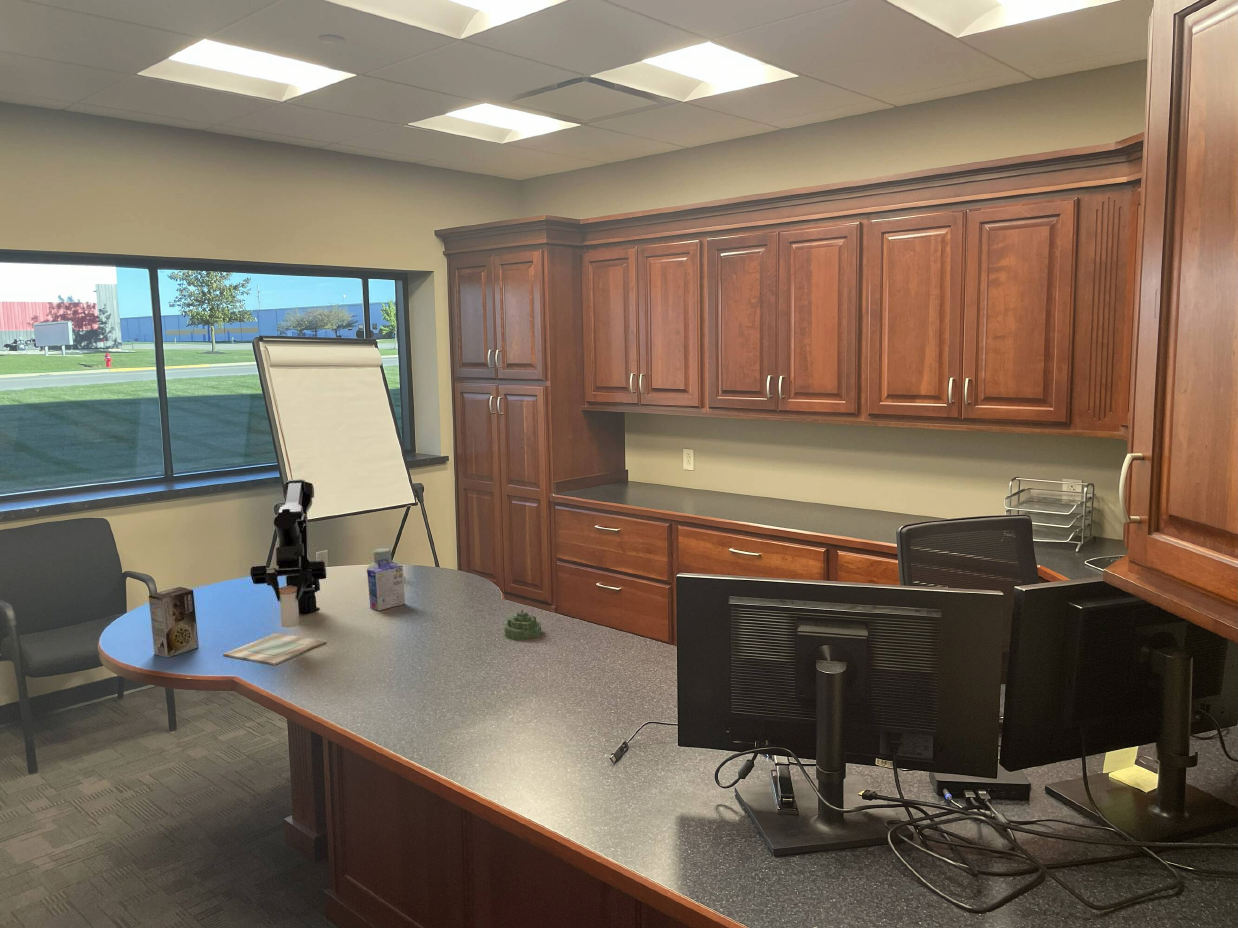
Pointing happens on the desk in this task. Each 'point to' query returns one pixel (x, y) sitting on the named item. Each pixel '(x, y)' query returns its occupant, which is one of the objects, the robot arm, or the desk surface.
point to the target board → (274, 648)
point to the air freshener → (381, 557)
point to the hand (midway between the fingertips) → (288, 599)
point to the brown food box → (173, 621)
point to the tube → (289, 606)
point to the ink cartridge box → (386, 585)
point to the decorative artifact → (522, 627)
